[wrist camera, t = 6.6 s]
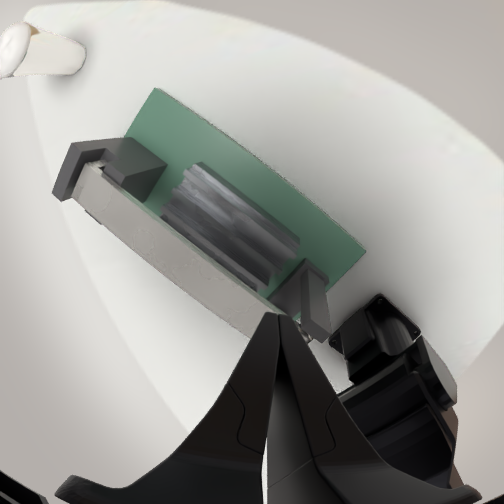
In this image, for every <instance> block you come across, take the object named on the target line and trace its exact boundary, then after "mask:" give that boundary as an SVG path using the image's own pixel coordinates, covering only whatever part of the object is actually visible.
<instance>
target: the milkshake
mask: <svg viewBox="0 0 504 504" xmlns="http://www.w3.org/2000/svg"><path fill="white" fill-rule="evenodd" d="M85 58H86V51H85V47H84V46H82V45H81V44H80V43H78V42H76V41H73V40H71V39H68V38H66V37H63V36H61V35H58V34H55V33H53V32H50V31H47V30H45V29H42V28H40V27H37V26H35V25H32V24H30V23H27V22H24V21H20V22H16V23H14V24H12V25H11V26H9V27H8V28H7V29H6V30H5V31H4V32H3V33H2V34H1V36H0V79H2V78H5V77H16V76H28V75H72V74H75V73H76V72H77V71H78V70H79V69H80V68H81V67H82V65H83V62H84V60H85Z"/></svg>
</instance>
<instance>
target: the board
mask: <svg viewBox="0 0 504 504" xmlns="http://www.w3.org/2000/svg"><path fill="white" fill-rule="evenodd" d="M125 137H132V138H133V139H135V140H136V141H137V142H139V143H140V144H142V145H143V146H144V147H146V148H147V149H148V150H150V151H151V152H152V153H154V154H155V155H156V156H158V157H159V158H160V159H162V160H163V161H164V162H166V163H167V164H168V166H167V167H166V169H165V170H164V172H163V174H162V175H161V177H160V178H159V180H158V182H157V183H156V185H155V186H154V188H153V190H152V191H151V193H150V195H149V196H148V198H147V200H146V202H144V203H142V204H143V205H145V206H146V207H147V208H148V209H150V210H151V211H152V212H153V213H155V214H156V215H157V216H158V217H160V215H161V213H162V212H161V211H160V208H161V206H162V205H164V204H165V203H167V202H169V201H170V199H171V198H172V196H173V194H172V193H171V191H172V189H173V188H174V187H176V186H178V185H180V184H181V182H182V181H183V179H184V178H185V176H184V175H183V172H184V171H185V169H187V168H190V167H192V166H193V165H194V163H198V162H201V161H202V162H203V163H204V164H206V165H207V166H208V167H210V168H211V169H212V170H214V171H215V172H216V173H218V174H219V175H220V176H222V177H223V178H224V179H225V180H227V181H228V182H229V183H231V184H232V185H233V186H235V187H236V188H237V189H238V190H240V191H241V192H242V193H244V194H245V195H246V196H248V197H249V198H250V199H251V200H253V201H254V202H255V203H256V204H258V205H259V206H260V207H262V208H263V209H264V210H265V211H267V212H268V213H269V214H270V215H272V216H273V217H274V218H275V219H277V220H278V221H279V222H280V223H282V224H283V225H284V226H285V227H287V228H288V229H289V230H290V231H292V232H293V233H294V234H295V235H297V236H298V237H299V238H300V247H299V248H298V249H297V256H296V258H295V259H294V260H293V259H291V258H290V257H289V259H288V260H287V261H286V262H285V263H284V264H283V271H282V273H281V274H280V275H279V276H278V275H277V274H276V273H275V274H274V275H273V276H272V277H271V278H270V280H269V285H268V287H267V289H266V290H265V291H264V290H263V289H262V288H261V289H260V290H259V291H258V292H257V293H258V294H260V295H261V296H262V297H264V298H265V299H266V298H267V297H268V296H269V295H270V294H271V293H272V292H273V291H274V290H275V289H276V288H277V287H278V286H279V285H280V284H281V283H282V282H283V281H284V280H285V279H286V278H287V277H288V276H289V274H290V273H291V272H292V271H293V270H294V269H295V268H296V267H297V266H298V265H299V264H300V263H301V262H302V261H303V260H304V259H305V258H306V259H307V260H309V261H310V262H311V263H312V264H314V265H315V266H316V267H317V268H319V269H320V270H321V271H322V272H323V273H325V274H326V275H327V276H328V277H329V282H330V283H329V284H328V285H327V286H326V287H325V291H326V292H327V291H328V290H329V289H330V288H331V287H332V286H333V285H334V284H335V283H336V282H337V281H338V280H339V279H340V278H341V277H342V276H343V275H344V274H345V273H346V272H347V271H348V270H349V269H350V268H351V267H352V266H353V265H354V264H355V263H356V262H357V261H358V260H359V259H360V258H361V257H362V255H363V254H364V253H365V252H366V250H365V248H364V247H363V246H362V245H361V244H360V243H358V242H357V241H356V240H355V239H354V238H353V237H352V236H351V235H350V234H348V233H347V232H346V231H345V230H344V229H343V228H342V227H341V226H339V225H338V224H337V223H336V222H335V221H334V220H333V219H331V218H330V217H329V216H328V215H327V214H326V213H324V212H323V211H322V210H321V209H320V208H319V207H317V206H316V205H315V204H314V203H313V202H311V201H310V200H309V199H308V198H307V197H305V196H304V195H303V194H302V193H301V192H299V191H298V190H297V189H296V188H294V187H293V186H292V185H291V184H290V183H288V182H287V181H286V180H285V179H283V178H282V177H281V176H280V175H278V174H277V173H276V172H275V171H273V170H272V169H271V168H269V167H268V166H267V165H266V164H264V163H263V162H262V161H260V160H259V159H258V158H256V157H255V156H254V155H253V154H251V153H250V152H249V151H247V150H246V149H245V148H243V147H242V146H241V145H239V144H238V143H237V142H235V141H234V140H233V139H231V138H230V137H228V136H227V135H226V134H224V133H223V132H222V131H220V130H219V129H217V128H216V127H215V126H213V125H212V124H210V123H209V122H208V121H206V120H205V119H203V118H202V117H200V116H199V115H197V114H196V113H195V112H193V111H192V110H190V109H189V108H187V107H186V106H184V105H183V104H181V103H180V102H178V101H177V100H175V99H174V98H172V97H171V96H169V95H168V94H166V93H165V92H163V91H162V90H160V89H158V88H154V89H153V91H152V92H151V94H150V95H149V97H148V99H147V100H146V102H145V103H144V105H143V106H142V108H141V110H140V111H139V113H138V114H137V116H136V118H135V119H134V121H133V123H132V124H131V126H130V128H129V129H128V131H127V133H126V135H125V136H124V138H125ZM300 317H301V311H300V312H299V313H298V314H297V315H296V316H295V317H294V318H292V319H293V320H295V321H296V320H297V319H298V318H300Z"/></svg>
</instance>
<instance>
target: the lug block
mask: <svg viewBox="0 0 504 504" xmlns="http://www.w3.org/2000/svg"><path fill="white" fill-rule="evenodd" d="M104 159H105V160H106V161H107V164H106V166H105V168H104V170H103V172H104V173H105V174H106V175H108V176H109V177H110V178H111V179H113V180H114V181H115V182H116V183H117V184H119V185H120V186H121V187H122V188H124V189H125V190H126V191H127V192H128V193H130V194H131V195H132V196H133V197H135V198H136V199H137V200H138V201H140V202H141V203H144V202H146V200H147V198H148V196H149V195H150V193H151V191H152V190H153V188H154V186H155V185H156V183H157V182H158V180H159V178H160V177H161V175H162V174H163V172H164V170H165V169H166V167H167V166H168V164H167V163H166V162H164V161H163V160H162V159H160V158H159V157H158V156H156V155H155V154H154V153H152V152H151V151H150V150H148V149H147V148H146V147H144V146H143V145H142V144H140V143H139V142H137V141H136V140H135V139H133V138H132V137H125V138H113V139H102V140H92V141H83V142H75V143H71V145H70V148H69V150H68V152H67V155H66V157H65V159H64V162H63V164H62V167H61V169H60V172H59V174H58V177H57V180H56V182H55V185H54V188H53V191H52V194H53V195H54V196H55V197H56V198H57V199H59V200H60V201H61V202H62V201H65V200H67V199H70V198H72V197H71V195H72V193H73V190H74V188H75V186H76V183H77V181H78V179H79V176H80V174H81V172H82V169H83V167H84V165H85V163H89V162H94V161H99V160H104ZM85 211H86V212H87V213H88V214H89V215H90V216H91V217H93V216H92V215H91V214H90V213H89V212H88V211H87V210H85ZM93 218H94V217H93ZM94 219H95V220H96V221H97V222H98V223H99V224H101V223H100V222H99V221H98V220H97V219H96V218H94Z"/></svg>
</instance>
